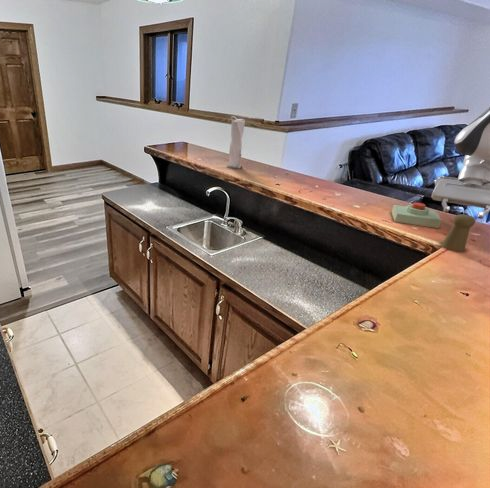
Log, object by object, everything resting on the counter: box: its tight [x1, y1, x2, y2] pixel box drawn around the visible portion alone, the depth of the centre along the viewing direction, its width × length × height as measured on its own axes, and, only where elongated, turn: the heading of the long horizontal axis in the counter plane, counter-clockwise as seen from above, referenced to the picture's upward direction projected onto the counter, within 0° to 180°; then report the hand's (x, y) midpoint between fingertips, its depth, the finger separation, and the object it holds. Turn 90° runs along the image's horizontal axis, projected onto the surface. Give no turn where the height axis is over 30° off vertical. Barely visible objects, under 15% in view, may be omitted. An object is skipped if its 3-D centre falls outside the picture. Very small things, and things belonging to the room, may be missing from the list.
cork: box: [441, 213, 476, 252], centre depth 111 cm, size 6×6×11 cm
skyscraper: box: [227, 115, 246, 170], centre depth 199 cm, size 8×8×28 cm
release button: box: [411, 202, 427, 210], centre depth 132 cm, size 4×4×2 cm
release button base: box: [391, 204, 443, 229], centre depth 133 cm, size 14×11×5 cm
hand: (462, 214), depth 119 cm, fingers open, 8 cm apart
